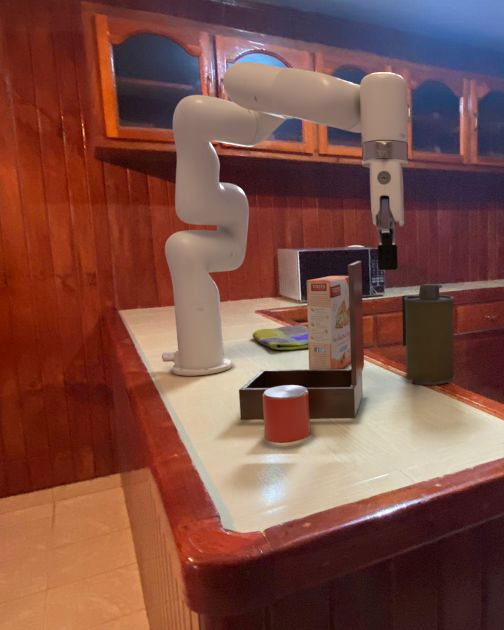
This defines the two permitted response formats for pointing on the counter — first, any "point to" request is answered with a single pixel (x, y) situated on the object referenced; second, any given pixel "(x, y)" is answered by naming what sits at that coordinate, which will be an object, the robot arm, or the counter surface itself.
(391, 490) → the counter surface
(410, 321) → the canister
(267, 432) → the tin can
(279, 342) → the dish towel
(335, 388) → the chest
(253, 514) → the counter surface
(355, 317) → the lid
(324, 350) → the cracker box
